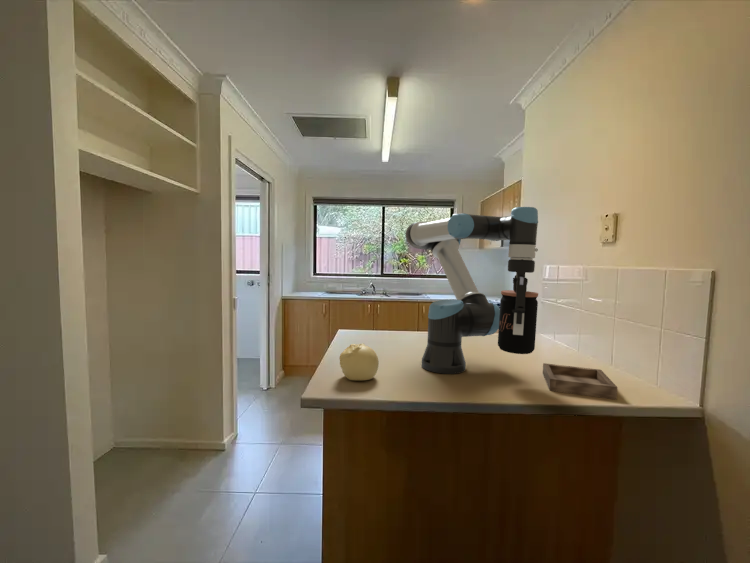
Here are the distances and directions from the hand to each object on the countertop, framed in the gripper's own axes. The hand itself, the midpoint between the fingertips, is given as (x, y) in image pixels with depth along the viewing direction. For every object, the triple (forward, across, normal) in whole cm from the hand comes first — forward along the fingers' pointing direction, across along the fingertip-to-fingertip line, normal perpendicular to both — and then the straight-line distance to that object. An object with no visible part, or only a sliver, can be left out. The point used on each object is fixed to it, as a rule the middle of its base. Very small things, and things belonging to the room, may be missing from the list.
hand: (516, 330), depth 110 cm
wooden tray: (+16, +6, -18) cm, 25 cm away
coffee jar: (+6, 0, 0) cm, 6 cm away
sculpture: (+17, -15, +46) cm, 51 cm away
